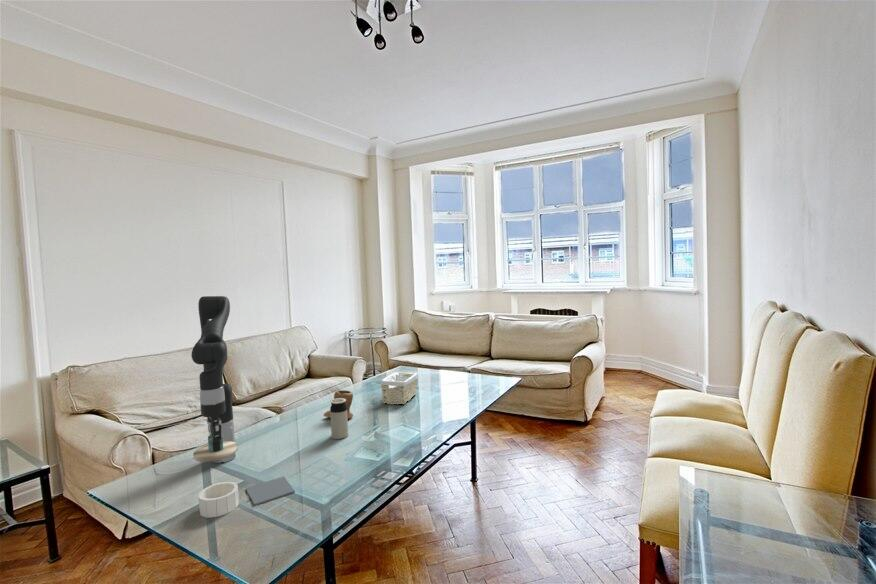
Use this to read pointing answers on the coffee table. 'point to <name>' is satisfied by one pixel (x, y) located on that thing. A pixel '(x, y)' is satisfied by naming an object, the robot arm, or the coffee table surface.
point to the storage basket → (399, 387)
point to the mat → (269, 490)
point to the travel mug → (339, 418)
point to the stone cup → (348, 396)
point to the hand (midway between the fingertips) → (215, 448)
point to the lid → (208, 454)
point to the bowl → (218, 499)
